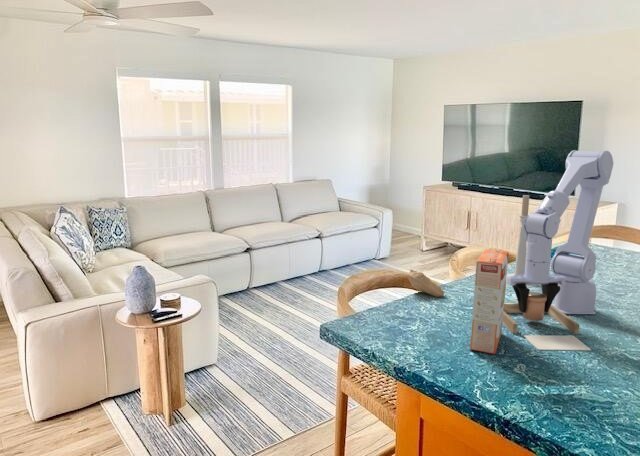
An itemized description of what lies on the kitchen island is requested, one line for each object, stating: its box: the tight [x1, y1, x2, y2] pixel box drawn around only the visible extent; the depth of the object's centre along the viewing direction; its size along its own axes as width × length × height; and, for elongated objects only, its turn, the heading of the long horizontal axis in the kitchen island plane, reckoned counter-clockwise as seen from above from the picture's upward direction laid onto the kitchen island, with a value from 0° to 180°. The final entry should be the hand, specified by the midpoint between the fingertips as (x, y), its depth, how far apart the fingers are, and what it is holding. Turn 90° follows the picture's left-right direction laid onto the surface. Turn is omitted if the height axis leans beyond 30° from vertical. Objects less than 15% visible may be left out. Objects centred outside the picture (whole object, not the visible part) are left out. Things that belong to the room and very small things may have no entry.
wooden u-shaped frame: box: [502, 302, 580, 335], centre depth 126 cm, size 16×16×2 cm
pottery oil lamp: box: [406, 269, 445, 298], centre depth 149 cm, size 9×12×7 cm
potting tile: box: [523, 334, 592, 351], centre depth 113 cm, size 12×8×1 cm, turn 89°
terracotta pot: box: [522, 291, 547, 322], centre depth 125 cm, size 6×6×6 cm
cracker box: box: [469, 248, 510, 355], centre depth 112 cm, size 14×6×21 cm, turn 154°
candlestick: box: [506, 194, 539, 287], centre depth 159 cm, size 13×13×30 cm
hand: (533, 311), depth 125 cm, fingers closed on terracotta pot, 5 cm apart
